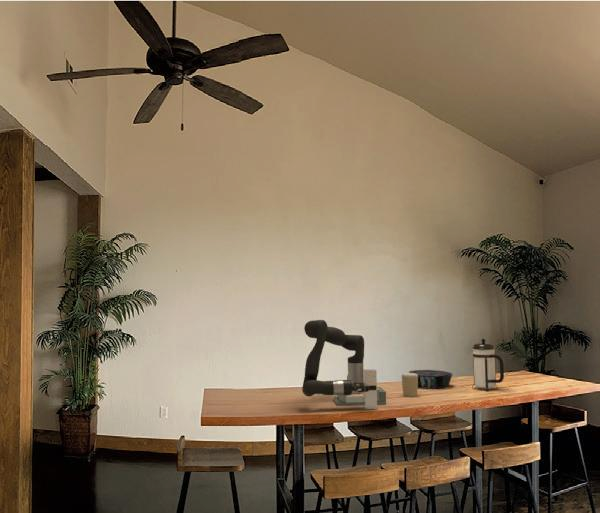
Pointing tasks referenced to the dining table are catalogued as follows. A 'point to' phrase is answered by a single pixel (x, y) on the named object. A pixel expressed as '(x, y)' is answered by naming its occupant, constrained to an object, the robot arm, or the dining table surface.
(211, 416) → the dining table surface
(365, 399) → the steel block
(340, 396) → the sliding jaw
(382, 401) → the vise base
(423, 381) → the decorative bowl
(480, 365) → the coffee press
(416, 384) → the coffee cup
